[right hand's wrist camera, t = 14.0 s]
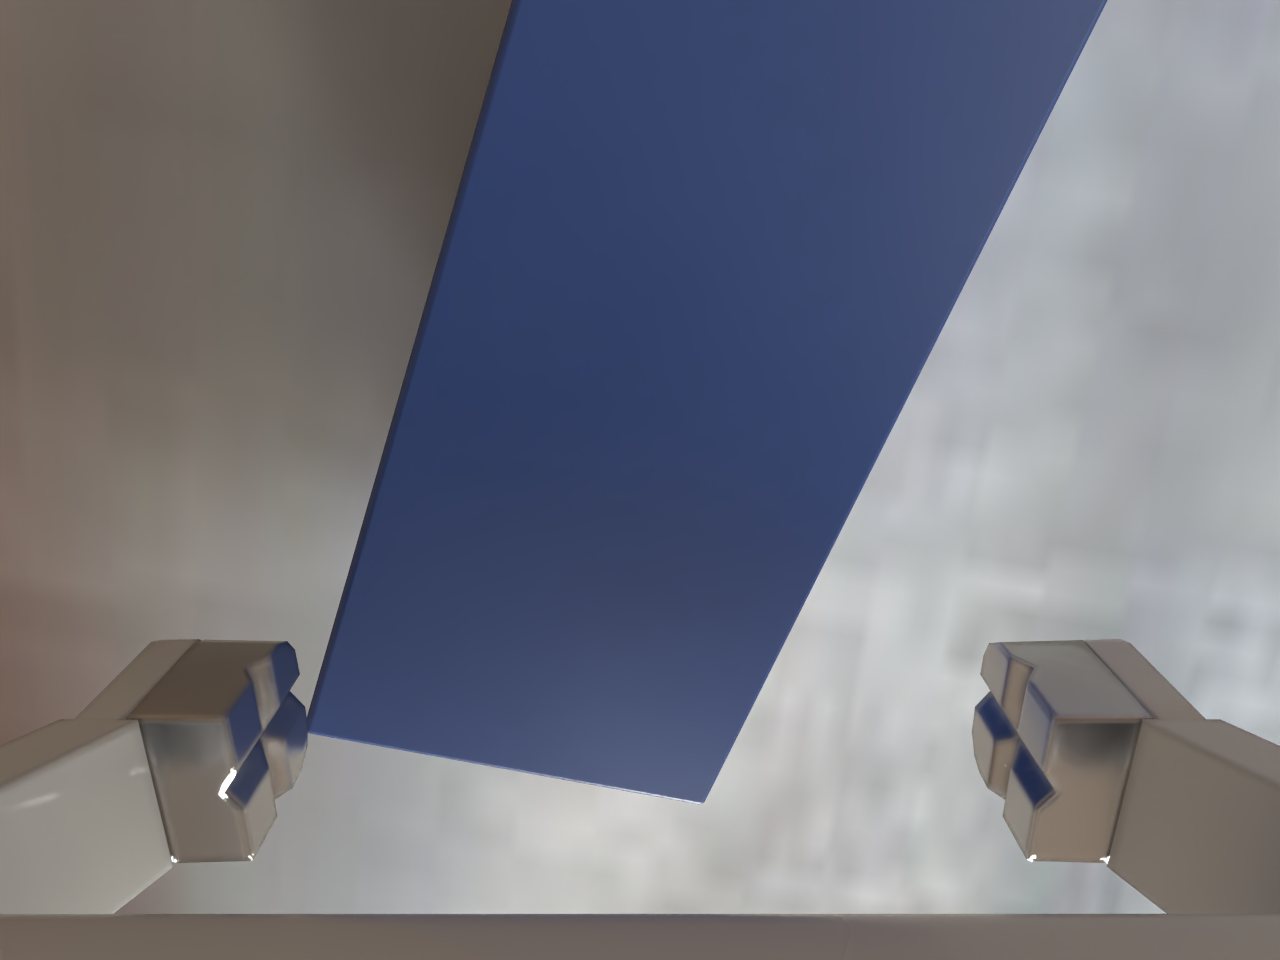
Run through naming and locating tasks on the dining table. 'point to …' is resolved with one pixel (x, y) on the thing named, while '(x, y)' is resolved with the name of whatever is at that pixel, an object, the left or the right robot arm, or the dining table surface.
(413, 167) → the dining table surface
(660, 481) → the box
